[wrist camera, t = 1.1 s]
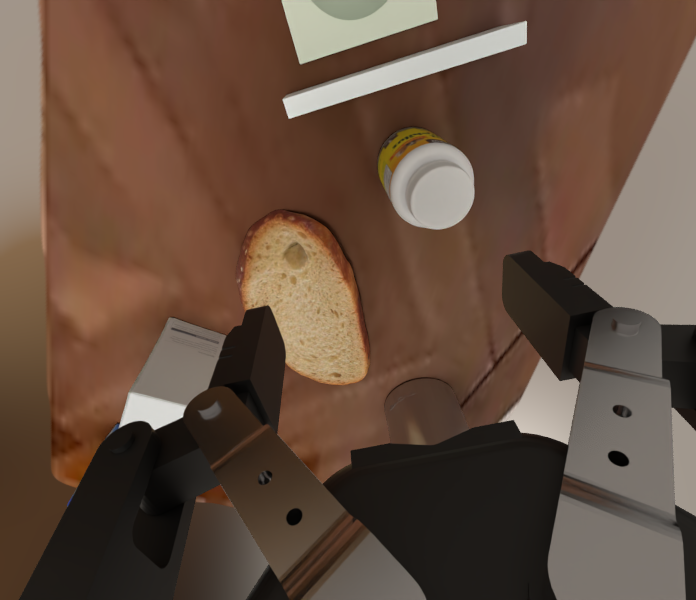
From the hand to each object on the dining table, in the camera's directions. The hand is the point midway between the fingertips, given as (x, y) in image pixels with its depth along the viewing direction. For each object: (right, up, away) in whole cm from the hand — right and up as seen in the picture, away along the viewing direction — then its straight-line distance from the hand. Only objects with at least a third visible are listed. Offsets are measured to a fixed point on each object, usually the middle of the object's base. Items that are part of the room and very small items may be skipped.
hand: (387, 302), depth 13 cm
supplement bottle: (+4, +12, +18) cm, 22 cm away
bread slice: (-5, 0, +26) cm, 26 cm away
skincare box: (-19, -6, +28) cm, 35 cm away
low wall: (+2, +17, +15) cm, 22 cm away
